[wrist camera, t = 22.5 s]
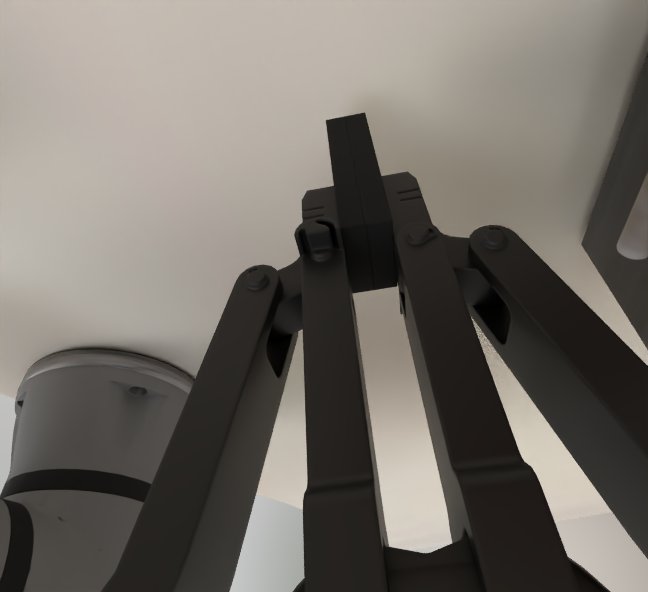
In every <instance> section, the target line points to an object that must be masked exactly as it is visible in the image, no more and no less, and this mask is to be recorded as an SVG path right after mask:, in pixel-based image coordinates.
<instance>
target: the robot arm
mask: <svg viewBox="0 0 648 592" xmlns="http://www.w3.org/2000/svg"><path fill="white" fill-rule="evenodd" d="M326 125H327V133H328V141H329V149H330V157H331V165H332V173H333V181H334V186H331V187H326V188H320V189H315V190H309V191H307V192H306V194H305V196H304V198H303V199H302V218H303V223H302V224H300V225H299V227H298V228H297V229H296V231H295V235H294V236H295V239H296V243H297V246H298V250H299V253H300V257H299V258H298V259H297V260H296V261H295V262H294V263H292V264H291V265H289V266H287V267H285V268H283V269H280V270H278V271H277V270H276V269H275V268H273V267H272V266H268V265H257V266H253V267H251V268H249V269H247V270H245V271H244V272H243V273H241V274H240V276H239V277H238V279H237V280H236V283H235V285H234V287H233V290H232V292H231V295H230V297H229V299H228V302H227V304H226V307H225V309H224V311H223V314H222V316H221V319H220V321H219V323H218V326H217V328H216V331H215V333H214V335H213V338H212V340H211V343H210V345H209V347H208V350H207V352H206V355H205V357H204V359H203V362H202V364H201V367H200V369H199V371H198V374H197V376H196V379H195V381H194V380H193V379H192V378H191V377H189V376H188V375H186V374H185V373H183V372H182V371H180V370H178V369H176V368H174V367H172V366H170V365H168V364H165V363H163V362H160V361H158V360H155V359H152V358H148V357H145V356H141V355H137V354H132V353H127V352H121V351H113V350H101V349H85V350H72V351H66V352H60V353H56V354H53V355H50V356H47V357H45V358H43V359H40V360H39V361H37V362H36V363H34V364H33V365H32V366H31V367H30V368H29V369H28V371H27V373H26V375H25V377H24V379H23V381H22V383H21V385H20V387H19V389H18V392H17V397H16V401H15V412H16V415H17V416H16V420H15V426H14V433H13V442H12V454H11V467H10V474H9V476H8V479H7V481H6V483H5V486H4V488H3V490H2V493H1V495H0V592H229V591H230V587H231V585H232V581H233V578H234V575H235V571H236V567H237V563H238V559H239V556H240V552H241V548H242V544H243V540H244V537H245V533H246V529H247V526H248V522H249V518H250V514H251V511H252V506H253V503H254V499H255V496H256V492H257V488H258V484H259V481H260V477H261V473H262V469H263V466H264V462H265V458H266V454H267V450H268V447H269V443H270V439H271V435H272V432H273V428H274V424H275V420H276V417H277V413H278V409H279V405H280V402H281V398H282V394H283V390H284V387H285V383H286V379H287V375H288V372H289V368H290V364H291V360H292V356H293V353H294V349H295V345H296V341H297V338H298V331H300V330H302V329H303V351H304V382H305V413H306V443H307V474H308V484H307V489H306V491H305V493H304V499H303V532H304V533H303V534H304V575H305V578H304V579H303V580H302V581H301V582H300V583H299V584H298V585H297V587H296V588H295V590H294V591H293V592H610V591H609V590H608V589H607V588H606V587H604V586H603V585H602V584H601V583H600V582H599V581H598V580H597V579H596V578H595V577H593V576H592V575H591V574H590V573H589V572H588V571H586V570H585V569H584V568H583V567H581V566H580V565H579V564H577V563H576V562H575V561H573V560H572V559H570V558H569V557H567V554H566V551H565V549H564V546H563V543H562V541H561V538H560V536H559V533H558V530H557V527H556V524H555V522H554V519H553V516H552V514H551V511H550V508H549V506H548V503H547V500H546V498H545V495H544V492H543V490H542V487H541V485H540V482H539V480H538V478H537V475H536V473H535V472H534V470H533V469H532V467H531V466H530V465H528V464H527V463H525V462H524V460H523V459H522V457H521V455H520V452H519V450H518V447H517V444H516V441H515V438H514V436H513V433H512V430H511V427H510V425H509V422H508V419H507V416H506V413H505V411H504V408H503V405H502V402H501V400H500V397H499V394H498V391H497V388H496V386H495V383H494V380H493V377H492V375H491V372H490V369H489V366H488V363H487V361H486V358H485V355H484V352H483V350H482V347H481V344H480V341H479V338H478V336H477V333H476V330H475V327H474V325H473V322H472V319H471V316H472V318H473V319H474V320H475V322H476V323H477V325H478V326H479V327H480V329H481V330H482V332H483V333H484V334H485V336H486V337H487V339H488V340H489V341H490V343H491V344H492V345H493V347H494V348H495V350H496V351H497V352H498V354H499V355H500V357H501V358H502V359H503V361H504V362H505V364H506V365H507V366H508V368H509V369H510V370H511V372H512V373H513V375H514V376H515V377H516V379H517V380H518V382H519V383H520V384H521V386H522V387H523V389H524V390H525V391H526V393H527V394H528V395H529V397H530V398H531V400H532V401H533V402H534V404H535V405H536V407H537V408H538V409H539V411H540V412H541V413H542V415H543V416H544V418H545V419H546V420H547V422H548V423H549V425H550V426H551V427H552V429H553V430H554V432H555V433H556V434H557V436H558V437H559V438H560V440H561V441H562V443H563V444H564V445H565V447H566V448H567V450H568V451H569V452H570V454H571V455H572V457H573V458H574V459H575V461H576V462H577V463H578V465H579V466H580V468H581V469H582V470H583V472H584V473H585V475H586V476H587V477H588V479H589V480H590V482H591V483H592V484H593V486H594V487H595V488H596V490H597V491H598V493H599V494H600V495H601V497H602V498H603V500H604V501H605V502H606V504H607V505H608V507H609V508H610V509H611V511H612V512H613V513H614V514H615V516H616V518H617V519H618V520H619V522H620V523H621V524H622V526H623V527H624V528H625V530H626V531H627V533H628V534H629V535H630V537H631V538H632V540H633V541H634V542H635V543H636V545H637V546H638V547H639V548H640V550H641V551H642V552H643V554H644V555H645V556H646V557H647V559H648V366H647V365H646V364H645V363H644V362H643V361H642V360H641V359H640V358H639V357H638V356H637V355H636V354H635V353H634V352H633V351H632V350H631V349H630V348H629V347H628V346H627V345H626V344H625V343H624V342H623V341H622V340H621V339H620V338H619V337H618V336H617V335H616V334H615V333H614V332H613V331H612V330H611V329H610V328H609V327H608V325H607V324H606V323H605V322H604V321H603V320H602V319H601V318H600V317H599V316H598V315H597V314H596V313H595V312H594V311H593V310H592V309H591V308H590V307H589V306H588V305H587V304H586V303H585V302H584V301H583V300H582V299H581V298H580V297H579V296H578V295H577V294H576V293H575V292H574V291H573V290H572V289H571V288H570V287H569V286H568V285H567V284H566V283H565V282H564V281H563V280H562V279H561V278H560V277H559V276H558V275H557V274H556V273H555V272H554V271H553V270H552V269H551V268H550V267H549V266H548V265H547V264H546V263H545V262H544V261H543V260H542V259H541V258H540V257H539V256H538V255H537V254H536V253H535V252H534V251H533V250H532V249H531V248H530V247H529V246H528V245H527V244H526V243H525V242H524V241H523V240H522V239H521V238H520V237H519V236H518V235H517V234H516V233H515V232H513V231H512V230H510V229H509V228H506V227H503V226H498V225H488V226H483V227H480V228H478V229H476V230H474V231H473V233H472V234H471V235H470V238H460V237H451V236H448V235H444V234H442V233H441V232H440V231H439V230H438V228H437V227H435V226H434V225H433V224H432V222H431V219H430V216H429V213H428V210H427V208H426V205H425V202H424V199H423V197H422V193H421V191H420V188H419V185H418V182H417V179H416V178H415V177H413V176H412V175H411V174H410V173H409V172H402V173H397V174H391V175H386V176H381V173H380V169H379V166H378V162H377V158H376V154H375V150H374V146H373V142H372V138H371V135H370V131H369V127H368V123H367V119H366V115H365V113H360V114H355V115H350V116H345V117H340V118H335V119H330V120H326ZM397 282H398V287H399V298H400V312H401V314H403V316H404V321H405V325H406V330H407V334H408V338H409V343H410V347H411V352H412V356H413V360H414V365H415V369H416V374H417V378H418V383H419V387H420V391H421V396H422V400H423V405H424V409H425V413H426V418H427V422H428V427H429V431H430V436H431V440H432V444H433V449H434V453H435V458H436V462H437V466H438V471H439V475H440V480H441V484H442V489H443V493H444V497H445V502H446V506H447V512H448V518H449V526H450V532H451V538H452V544H450V545H447V546H445V547H443V548H441V549H438V550H436V551H433V552H431V553H419V552H414V551H408V550H403V549H398V548H392V547H389V544H388V538H387V532H386V526H385V520H384V513H383V506H382V499H381V492H380V485H379V477H378V470H377V463H376V456H375V449H374V442H373V434H372V427H371V420H370V413H369V406H368V398H367V391H366V384H365V377H364V370H363V363H362V355H361V348H360V341H359V334H358V327H357V320H356V312H355V305H354V300H353V295H352V293H358V292H364V291H371V290H377V289H383V288H390V287H396V286H397ZM470 315H471V316H470Z"/></svg>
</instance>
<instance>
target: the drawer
mask: <svg viewBox="0 0 648 592" xmlns="http://www.w3.org/2000/svg"><path fill="white" fill-rule="evenodd" d="M582 246H583V248H584V249H585V251H586V253H587V254H588V256H589V257H590V259H591V261H592V262H593V264H594V265H595V267H596V268H597V270H598V272H599V273H600V275H601V276H602V278H603V280H604V281H605V283H606V284H607V286H608V287H609V289H610V291H611V292H612V294H613V295H614V297H615V298H616V300H617V302H618V303H619V305H620V306H621V308H622V310H623V311H624V313H625V314H626V316H627V317H628V319H629V321H630V322H631V324H632V325H633V327H634V329H635V330H636V332H637V333H638V335H639V336H640V338H641V340H642V341H643V343H644V344H645V346H646V348H647V349H648V54H647V56H646V59H645V62H644V65H643V68H642V71H641V74H640V77H639V79H638V82H637V85H636V88H635V91H634V94H633V97H632V100H631V102H630V105H629V108H628V111H627V114H626V117H625V120H624V123H623V126H622V128H621V131H620V134H619V137H618V140H617V143H616V146H615V149H614V151H613V154H612V157H611V160H610V163H609V166H608V169H607V172H606V174H605V177H604V180H603V183H602V186H601V189H600V192H599V195H598V197H597V200H596V203H595V206H594V209H593V212H592V215H591V218H590V221H589V223H588V226H587V229H586V232H585V235H584V238H583V241H582Z"/></svg>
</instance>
